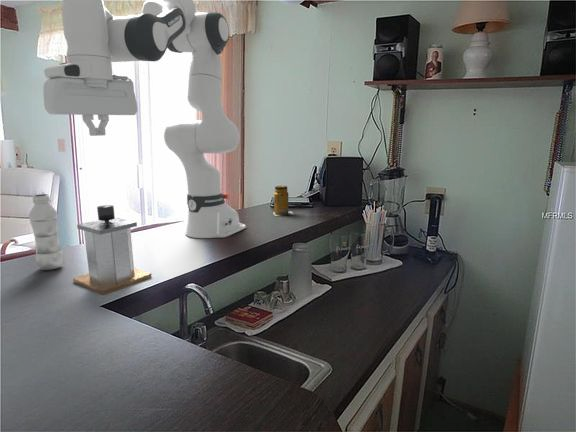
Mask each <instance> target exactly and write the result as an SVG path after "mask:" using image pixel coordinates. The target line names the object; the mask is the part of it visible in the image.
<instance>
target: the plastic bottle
mask: <svg viewBox="0 0 576 432" xmlns="http://www.w3.org/2000/svg"><path fill="white" fill-rule="evenodd" d="M50 202H51V200H50V195H49V194H47V193H41V194H33V195H32V203H33V204H34V205H33V207H32V208H31V210H30V212H28V213H29V214H28V219H29V221H30V225H31V228H32V232H33V236H34V240H35V264H36V267H37V268H39V270H42V271H48V270H49V271H51V270H56V269H59V268H61V267H62V266H63V264H64V263H65V262H64V261H65V256H64V253H63V250H62V246H61V245H60V244H61V243H60V239H59V232H58V230H59V229H58V225H59V224H58V222H59V221H58V212H57V210H56V209H55V207H53V205H51V204H50Z"/></svg>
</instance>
